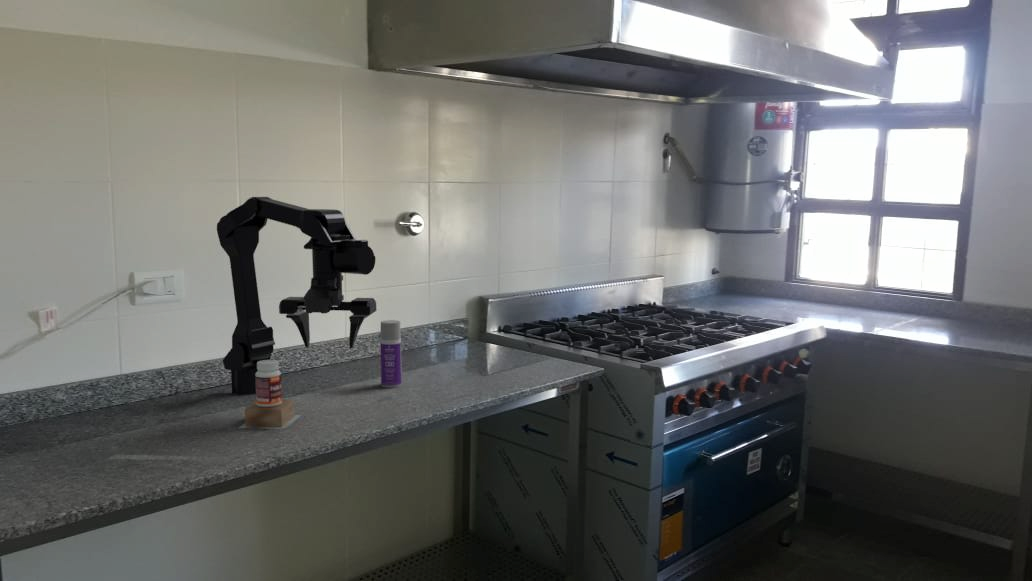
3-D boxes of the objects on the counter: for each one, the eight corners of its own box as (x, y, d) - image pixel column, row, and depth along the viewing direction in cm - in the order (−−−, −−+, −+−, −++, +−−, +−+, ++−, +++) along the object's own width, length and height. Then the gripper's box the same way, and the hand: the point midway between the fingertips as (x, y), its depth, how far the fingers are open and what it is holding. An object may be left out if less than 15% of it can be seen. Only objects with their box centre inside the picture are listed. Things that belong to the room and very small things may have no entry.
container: (384, 388, 181) (383, 324, 179) (378, 384, 185) (377, 320, 183) (404, 386, 183) (403, 322, 182) (397, 381, 188) (396, 319, 186)
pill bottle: (274, 408, 150) (273, 364, 149) (251, 406, 151) (249, 363, 150) (286, 401, 155) (285, 359, 154) (264, 400, 156) (262, 358, 155)
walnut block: (245, 426, 150) (244, 408, 150) (259, 415, 157) (258, 399, 157) (281, 427, 150) (281, 409, 149) (294, 416, 157) (293, 399, 156)
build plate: (232, 432, 149) (232, 428, 149) (256, 413, 161) (256, 410, 161) (321, 433, 148) (321, 430, 148) (338, 415, 160) (338, 412, 160)
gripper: (267, 275, 153) (270, 354, 155) (362, 276, 152) (363, 356, 154) (287, 269, 164) (290, 343, 166) (376, 270, 163) (377, 345, 165)
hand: (329, 347), depth 163 cm, fingers open, 9 cm apart
